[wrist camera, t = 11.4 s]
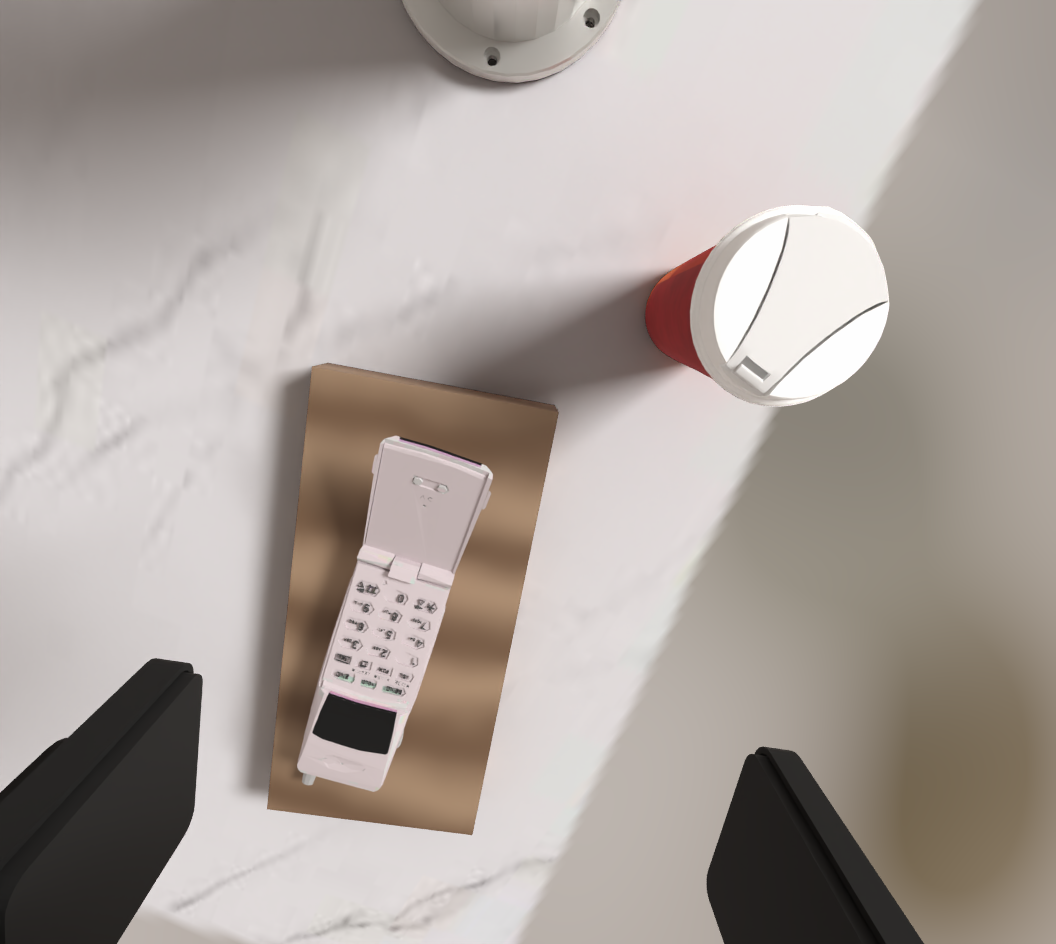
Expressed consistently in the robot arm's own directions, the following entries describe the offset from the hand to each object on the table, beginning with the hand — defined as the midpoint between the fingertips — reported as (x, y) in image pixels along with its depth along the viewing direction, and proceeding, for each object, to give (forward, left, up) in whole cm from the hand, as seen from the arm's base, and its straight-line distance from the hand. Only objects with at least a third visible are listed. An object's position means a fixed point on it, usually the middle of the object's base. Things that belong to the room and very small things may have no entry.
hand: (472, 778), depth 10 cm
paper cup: (-10, +10, -28) cm, 32 cm away
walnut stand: (+12, -4, -28) cm, 31 cm away
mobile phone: (+11, -5, -25) cm, 28 cm away
